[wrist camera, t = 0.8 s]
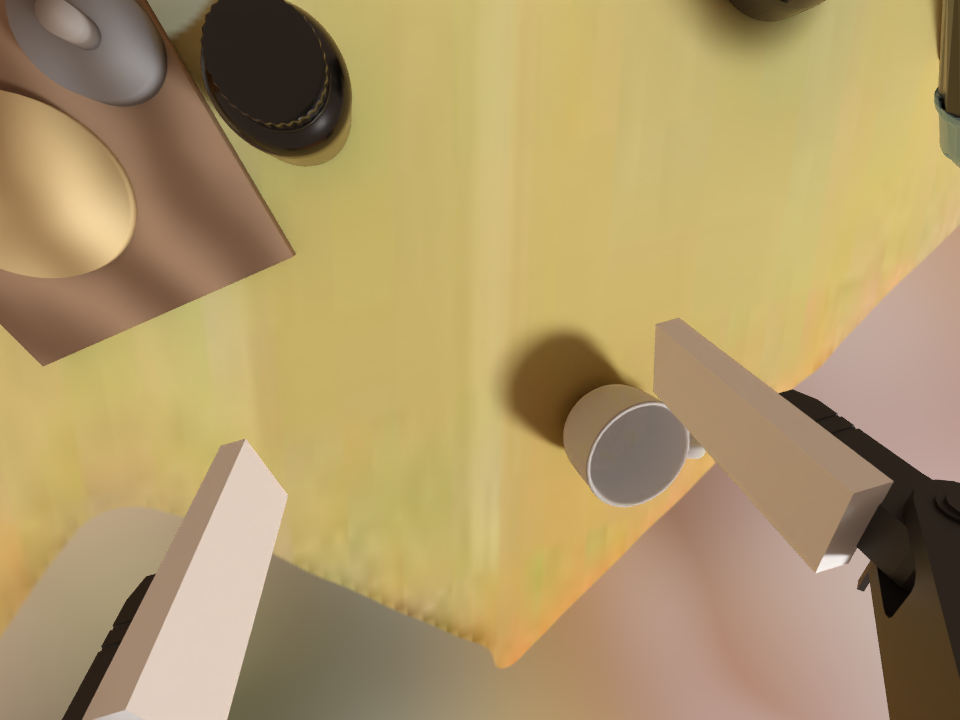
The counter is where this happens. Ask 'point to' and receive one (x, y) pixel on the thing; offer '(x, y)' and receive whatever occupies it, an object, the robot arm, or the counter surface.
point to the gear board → (112, 178)
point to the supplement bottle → (277, 79)
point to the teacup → (626, 444)
